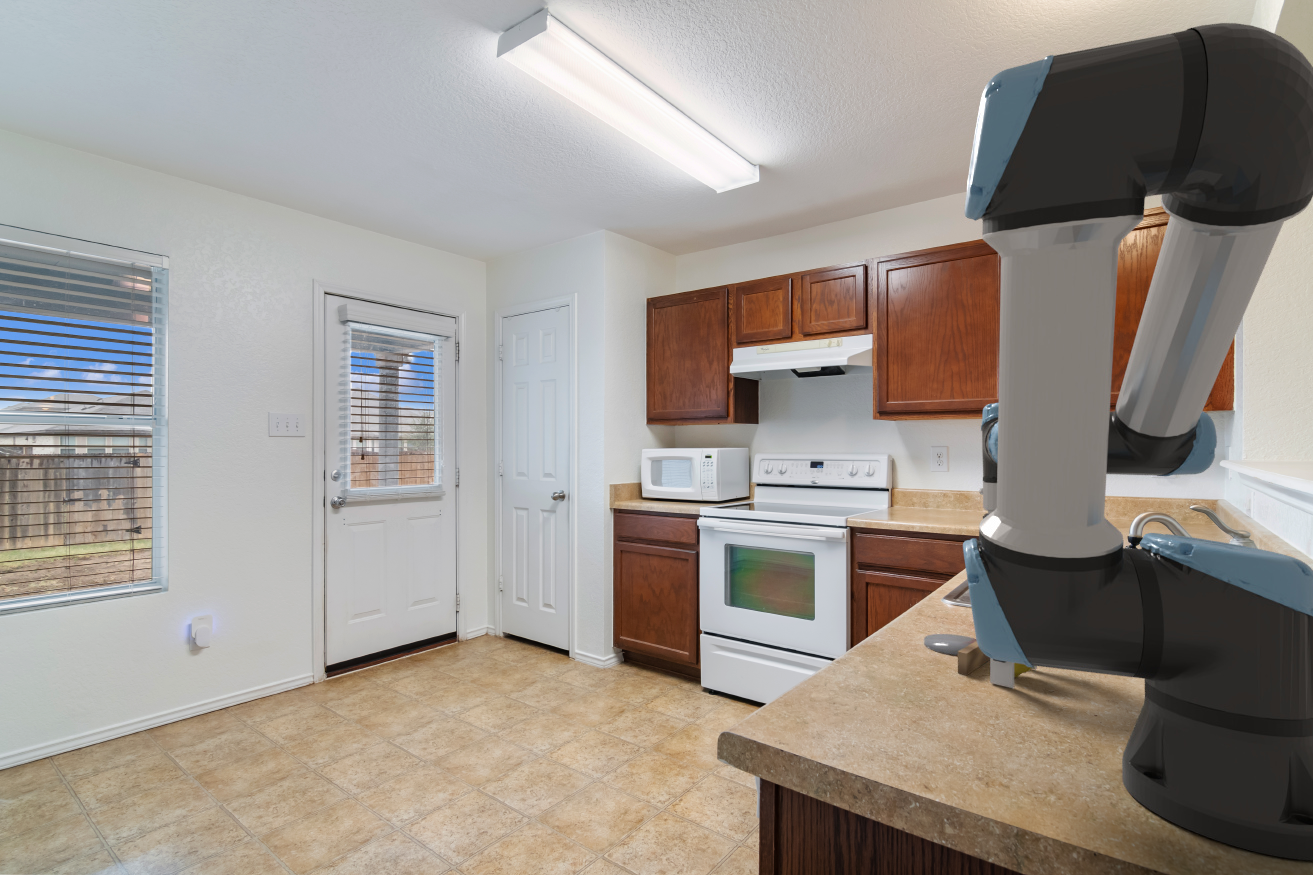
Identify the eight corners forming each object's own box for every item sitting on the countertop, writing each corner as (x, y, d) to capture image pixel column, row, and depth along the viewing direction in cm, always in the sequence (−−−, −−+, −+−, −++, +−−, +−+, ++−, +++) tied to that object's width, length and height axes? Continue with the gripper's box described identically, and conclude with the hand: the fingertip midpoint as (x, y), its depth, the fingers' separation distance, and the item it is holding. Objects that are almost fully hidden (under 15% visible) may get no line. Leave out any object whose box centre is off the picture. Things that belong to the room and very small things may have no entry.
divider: (966, 674, 89) (966, 653, 89) (957, 672, 89) (957, 651, 90) (1008, 647, 101) (1008, 628, 101) (1000, 645, 102) (1000, 626, 102)
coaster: (974, 660, 95) (974, 654, 95) (914, 646, 101) (914, 641, 101) (994, 647, 101) (994, 642, 101) (937, 635, 108) (937, 630, 108)
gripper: (1009, 506, 99) (1010, 651, 98) (954, 516, 83) (955, 688, 83) (1065, 510, 93) (1066, 663, 93) (1017, 521, 78) (1019, 705, 78)
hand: (1014, 675), depth 88 cm, fingers open, 9 cm apart
